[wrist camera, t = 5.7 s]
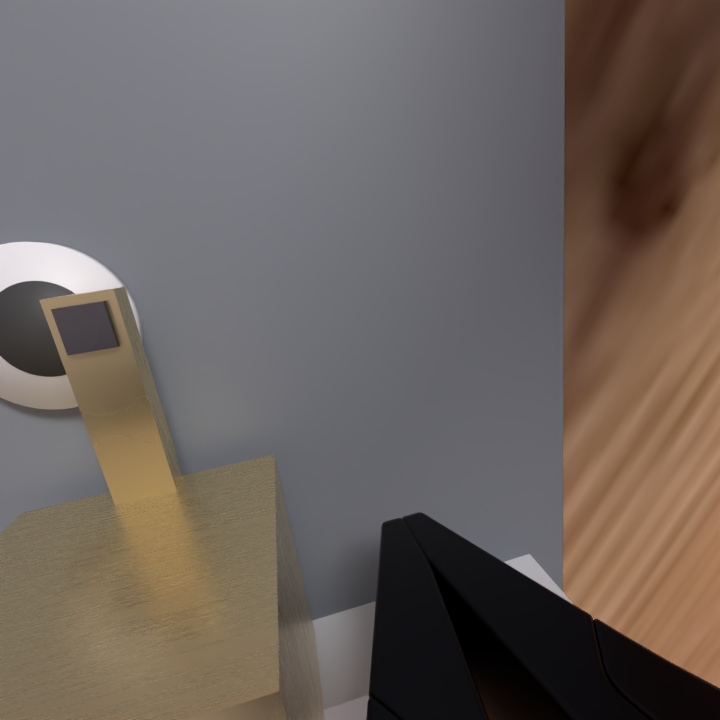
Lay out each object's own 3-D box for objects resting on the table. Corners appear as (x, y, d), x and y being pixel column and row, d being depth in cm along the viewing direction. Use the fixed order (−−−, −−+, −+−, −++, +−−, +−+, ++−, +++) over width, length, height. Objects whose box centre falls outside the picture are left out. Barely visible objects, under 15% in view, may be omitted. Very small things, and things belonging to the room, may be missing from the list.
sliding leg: (232, 270, 7) (170, 291, 2) (314, 631, 9) (353, 961, 5) (-69, 315, 6) (-878, 455, 2) (104, 696, 8) (-73, 1158, 4)
